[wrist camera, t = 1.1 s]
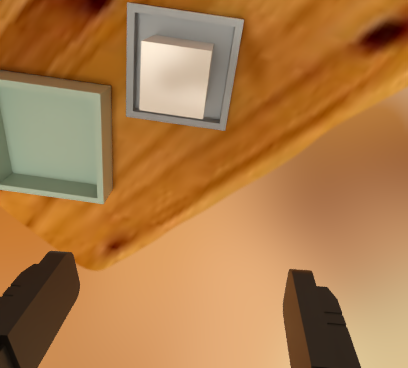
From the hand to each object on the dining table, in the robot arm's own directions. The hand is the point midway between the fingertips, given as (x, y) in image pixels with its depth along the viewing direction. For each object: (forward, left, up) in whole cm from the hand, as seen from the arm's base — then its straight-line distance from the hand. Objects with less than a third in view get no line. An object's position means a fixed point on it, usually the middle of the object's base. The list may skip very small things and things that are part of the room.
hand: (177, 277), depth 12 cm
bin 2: (-3, +3, -21) cm, 22 cm away
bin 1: (-15, -5, -21) cm, 26 cm away
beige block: (-3, +3, -21) cm, 21 cm away
